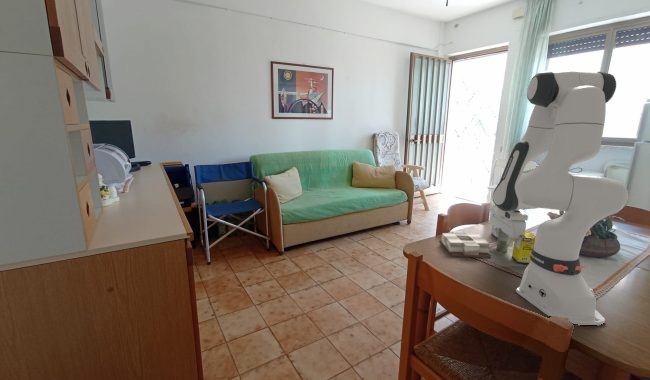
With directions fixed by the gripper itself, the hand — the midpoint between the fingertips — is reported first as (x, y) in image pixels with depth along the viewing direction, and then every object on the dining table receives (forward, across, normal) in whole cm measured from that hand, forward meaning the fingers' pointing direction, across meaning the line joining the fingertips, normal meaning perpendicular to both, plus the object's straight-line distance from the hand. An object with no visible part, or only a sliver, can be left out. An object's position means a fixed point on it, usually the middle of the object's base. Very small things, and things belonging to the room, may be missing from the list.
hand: (503, 241), depth 126 cm
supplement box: (+4, +10, +3) cm, 11 cm away
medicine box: (+4, -15, +7) cm, 17 cm away
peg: (+4, 0, 0) cm, 4 cm away
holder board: (+4, 0, -16) cm, 17 cm away
